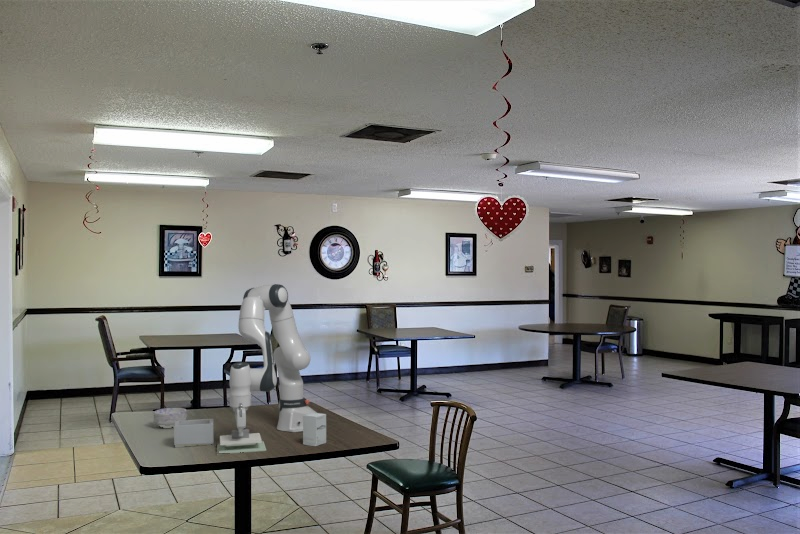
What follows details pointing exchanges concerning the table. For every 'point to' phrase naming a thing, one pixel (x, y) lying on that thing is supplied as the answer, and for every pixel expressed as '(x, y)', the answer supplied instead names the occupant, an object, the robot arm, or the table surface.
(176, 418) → the paper bowls
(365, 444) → the table surface
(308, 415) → the supplement box
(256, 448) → the mat
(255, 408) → the table surface
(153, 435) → the table surface
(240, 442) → the lid
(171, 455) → the table surface
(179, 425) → the storage box
